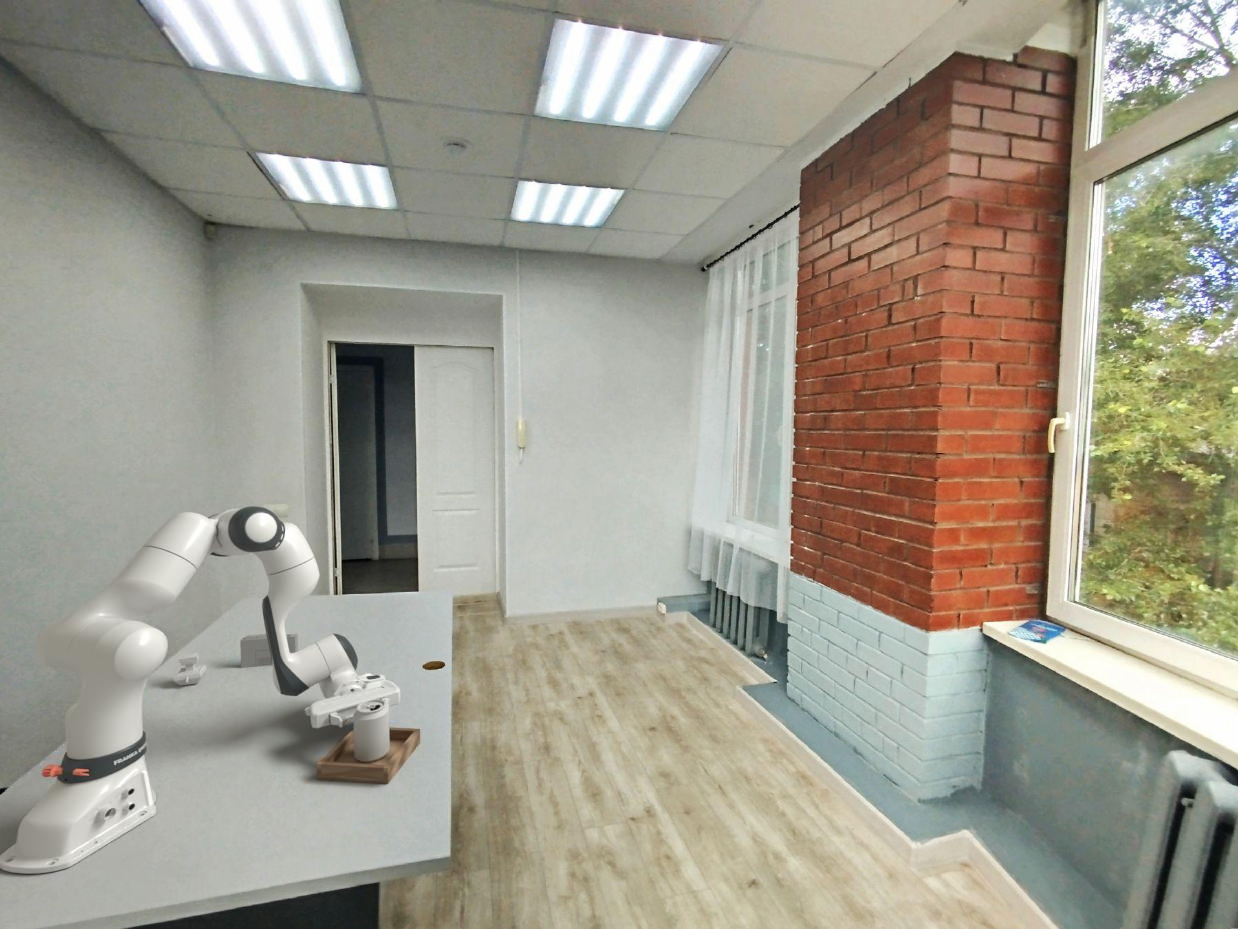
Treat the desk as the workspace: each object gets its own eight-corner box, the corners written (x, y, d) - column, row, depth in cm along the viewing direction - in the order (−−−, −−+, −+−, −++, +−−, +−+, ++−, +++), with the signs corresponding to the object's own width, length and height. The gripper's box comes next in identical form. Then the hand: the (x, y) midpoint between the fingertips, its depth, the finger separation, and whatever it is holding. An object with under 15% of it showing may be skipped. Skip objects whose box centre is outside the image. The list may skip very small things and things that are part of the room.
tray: (388, 783, 121) (387, 768, 121) (317, 779, 122) (316, 764, 122) (420, 742, 137) (420, 729, 137) (357, 739, 138) (356, 725, 138)
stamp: (200, 687, 165) (199, 659, 165) (172, 691, 163) (171, 662, 162) (208, 674, 174) (207, 648, 173) (181, 678, 171) (180, 651, 170)
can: (377, 766, 125) (376, 714, 125) (347, 762, 127) (346, 711, 126) (396, 748, 133) (395, 698, 132) (367, 744, 134) (366, 695, 133)
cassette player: (298, 660, 185) (297, 630, 185) (295, 663, 183) (294, 633, 182) (244, 664, 181) (243, 634, 181) (241, 668, 179) (240, 637, 178)
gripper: (302, 695, 136) (315, 718, 125) (389, 672, 149) (408, 691, 139) (303, 721, 136) (316, 745, 126) (389, 695, 149) (408, 716, 139)
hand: (365, 717), depth 132 cm, fingers open, 8 cm apart
